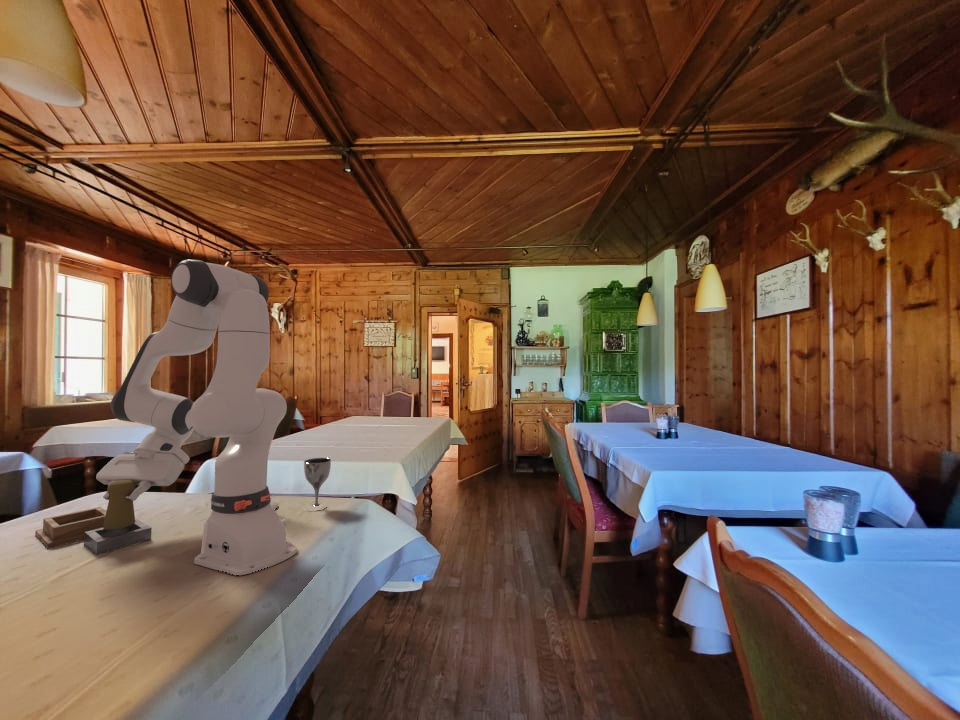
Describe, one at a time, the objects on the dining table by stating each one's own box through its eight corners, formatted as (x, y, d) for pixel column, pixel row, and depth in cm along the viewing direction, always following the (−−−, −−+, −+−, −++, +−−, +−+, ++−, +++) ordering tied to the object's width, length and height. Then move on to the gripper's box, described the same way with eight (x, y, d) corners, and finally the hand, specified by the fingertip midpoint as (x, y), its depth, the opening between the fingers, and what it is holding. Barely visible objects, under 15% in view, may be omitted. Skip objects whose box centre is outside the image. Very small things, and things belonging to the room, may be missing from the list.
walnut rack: (119, 530, 104) (119, 514, 104) (48, 548, 93) (48, 530, 93) (102, 519, 112) (103, 504, 112) (35, 534, 101) (36, 518, 101)
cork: (115, 530, 94) (117, 485, 94) (96, 527, 95) (98, 482, 95) (141, 521, 100) (144, 478, 100) (123, 518, 101) (125, 476, 101)
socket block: (151, 539, 99) (151, 527, 99) (96, 555, 90) (97, 542, 90) (136, 530, 104) (137, 519, 104) (83, 544, 96) (84, 532, 96)
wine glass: (304, 504, 126) (305, 458, 126) (330, 502, 128) (331, 457, 129) (301, 513, 118) (302, 464, 119) (328, 510, 121) (329, 462, 121)
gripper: (114, 445, 106) (71, 492, 96) (182, 446, 104) (146, 494, 94) (129, 458, 110) (91, 504, 100) (195, 459, 108) (162, 506, 98)
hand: (118, 499), depth 97 cm, fingers closed on cork, 5 cm apart
